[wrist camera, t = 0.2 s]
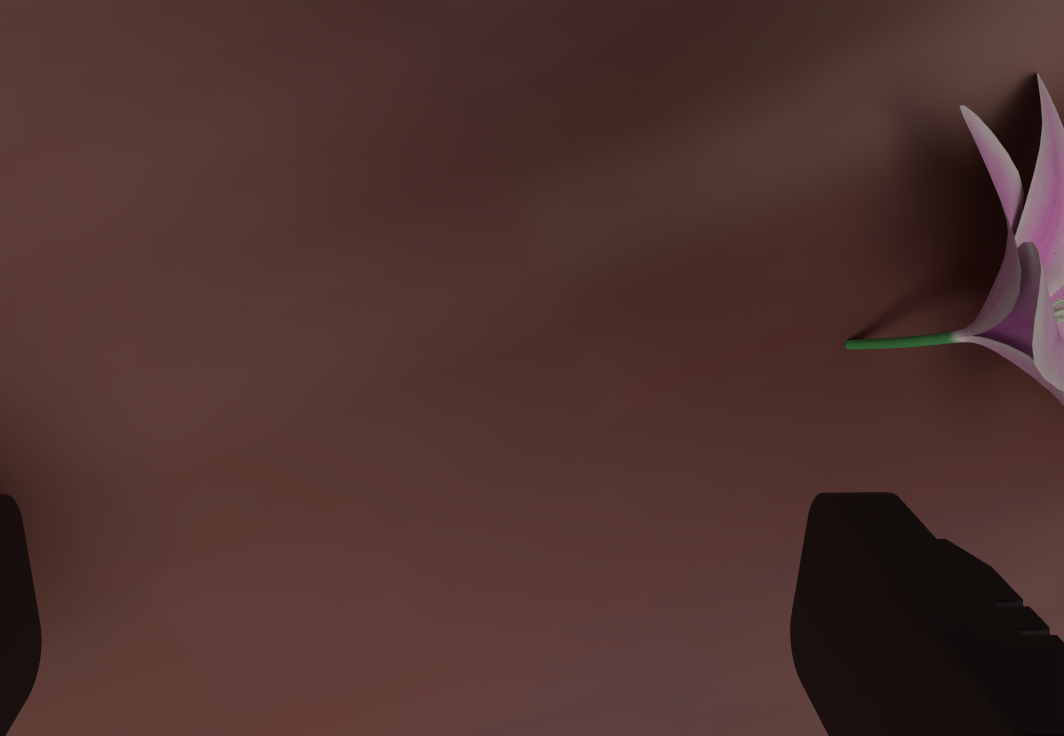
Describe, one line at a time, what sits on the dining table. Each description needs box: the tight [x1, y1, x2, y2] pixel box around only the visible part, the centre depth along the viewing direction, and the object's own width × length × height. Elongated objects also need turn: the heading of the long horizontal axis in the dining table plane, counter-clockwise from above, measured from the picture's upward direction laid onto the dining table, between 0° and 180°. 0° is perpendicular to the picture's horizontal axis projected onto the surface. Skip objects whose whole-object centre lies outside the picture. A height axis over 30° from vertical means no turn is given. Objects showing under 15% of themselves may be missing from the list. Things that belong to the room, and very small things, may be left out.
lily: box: [845, 74, 1064, 406], centre depth 25 cm, size 12×12×10 cm
